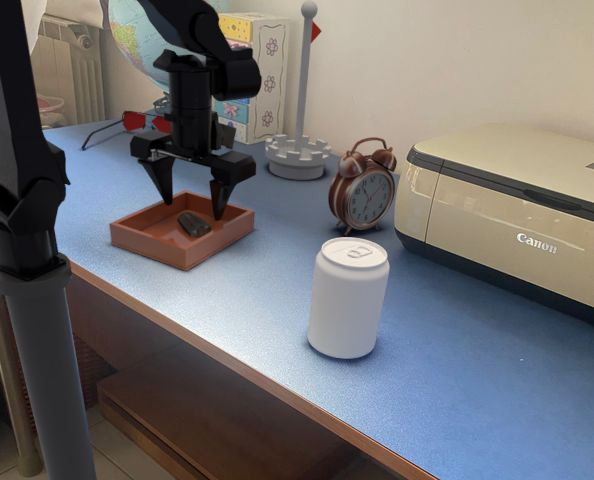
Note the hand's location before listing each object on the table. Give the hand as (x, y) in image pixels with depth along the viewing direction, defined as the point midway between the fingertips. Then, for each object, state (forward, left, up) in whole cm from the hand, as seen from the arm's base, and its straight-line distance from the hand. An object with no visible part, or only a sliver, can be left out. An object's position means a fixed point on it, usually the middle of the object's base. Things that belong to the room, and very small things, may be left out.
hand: (193, 212), depth 89 cm
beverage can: (-14, -32, -4) cm, 35 cm away
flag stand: (+37, +2, -4) cm, 37 cm away
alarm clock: (+18, -20, -4) cm, 27 cm away
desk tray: (-2, 0, -3) cm, 4 cm away
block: (0, 0, -3) cm, 3 cm away
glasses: (+27, +36, -4) cm, 45 cm away
